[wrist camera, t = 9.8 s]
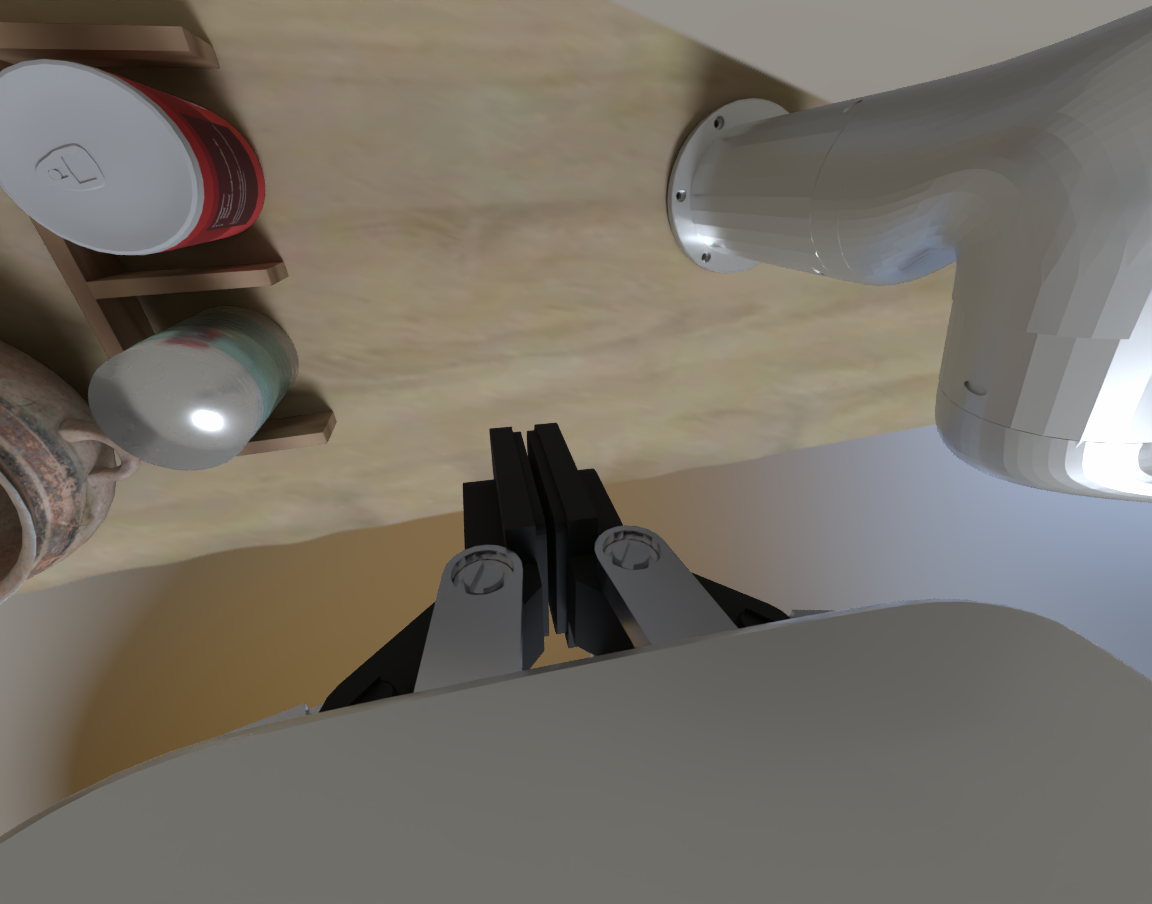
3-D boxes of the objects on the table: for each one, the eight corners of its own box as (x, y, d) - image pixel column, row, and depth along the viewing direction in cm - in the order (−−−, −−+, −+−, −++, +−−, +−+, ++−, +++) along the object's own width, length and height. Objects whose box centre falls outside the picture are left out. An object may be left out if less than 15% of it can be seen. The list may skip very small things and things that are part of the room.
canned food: (91, 147, 28) (-79, 125, 19) (194, 71, 28) (72, 11, 19) (204, 261, 32) (109, 289, 23) (296, 197, 32) (237, 199, 23)
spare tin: (279, 300, 35) (220, 340, 25) (312, 395, 39) (271, 460, 29) (162, 310, 33) (54, 356, 24) (208, 407, 37) (131, 480, 28)
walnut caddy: (212, 46, 28) (181, 26, 24) (336, 422, 40) (326, 443, 37) (-12, 42, 25) (-81, 19, 22) (193, 441, 38) (169, 465, 35)
